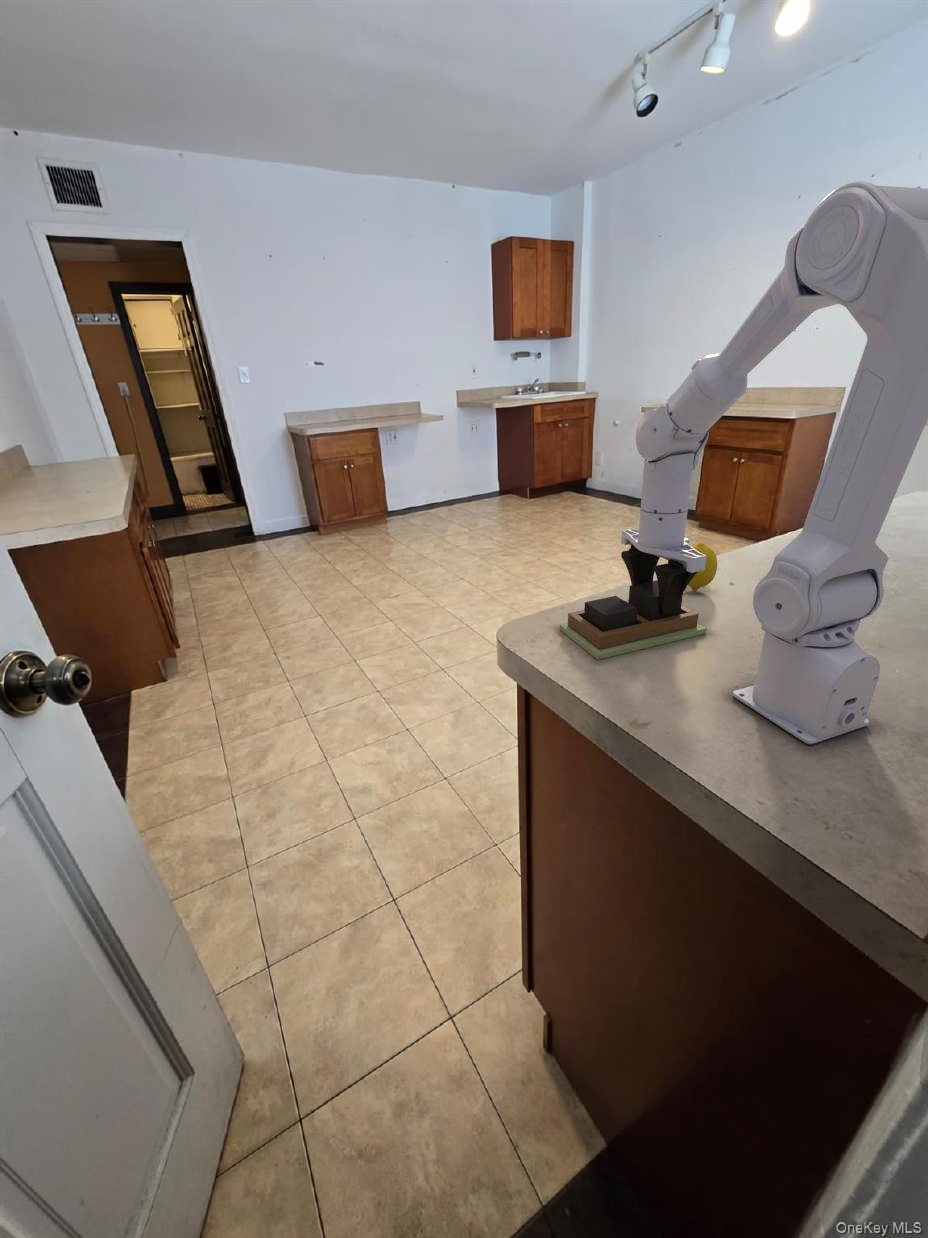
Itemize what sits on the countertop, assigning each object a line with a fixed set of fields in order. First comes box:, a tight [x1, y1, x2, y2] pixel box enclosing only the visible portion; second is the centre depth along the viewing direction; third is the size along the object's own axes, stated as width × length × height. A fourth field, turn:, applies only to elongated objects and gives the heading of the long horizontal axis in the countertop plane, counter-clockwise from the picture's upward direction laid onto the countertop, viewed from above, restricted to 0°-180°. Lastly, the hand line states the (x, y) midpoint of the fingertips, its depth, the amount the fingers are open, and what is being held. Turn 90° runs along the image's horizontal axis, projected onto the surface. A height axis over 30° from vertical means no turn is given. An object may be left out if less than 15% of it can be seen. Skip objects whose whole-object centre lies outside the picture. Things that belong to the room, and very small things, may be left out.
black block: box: [627, 579, 684, 621], centre depth 71 cm, size 5×5×4 cm
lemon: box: [687, 542, 718, 591], centre depth 82 cm, size 6×6×8 cm
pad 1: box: [583, 595, 637, 632], centre depth 70 cm, size 5×5×4 cm
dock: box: [559, 599, 707, 661], centre depth 71 cm, size 10×17×3 cm, turn 109°
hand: (654, 605), depth 72 cm, fingers closed on black block, 5 cm apart
